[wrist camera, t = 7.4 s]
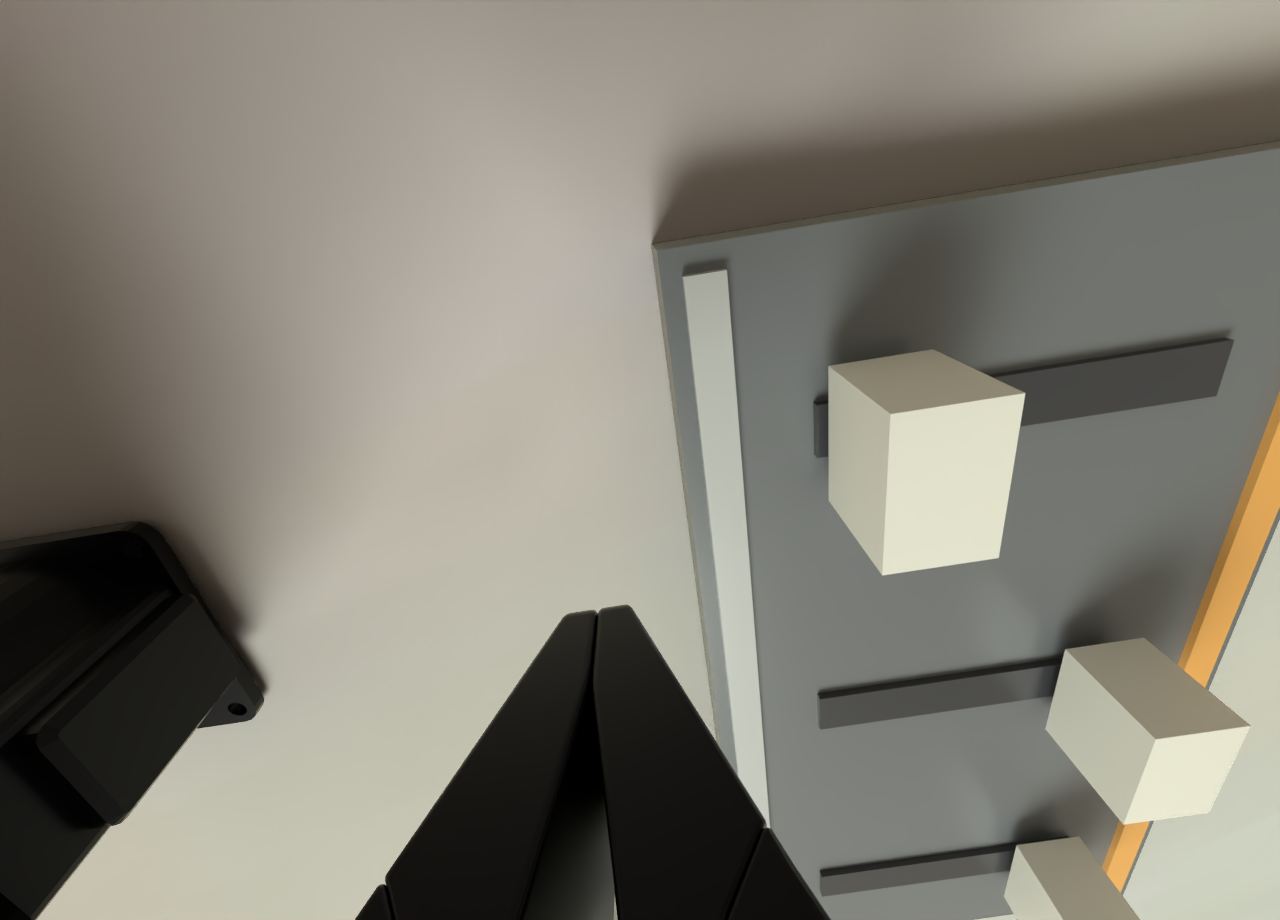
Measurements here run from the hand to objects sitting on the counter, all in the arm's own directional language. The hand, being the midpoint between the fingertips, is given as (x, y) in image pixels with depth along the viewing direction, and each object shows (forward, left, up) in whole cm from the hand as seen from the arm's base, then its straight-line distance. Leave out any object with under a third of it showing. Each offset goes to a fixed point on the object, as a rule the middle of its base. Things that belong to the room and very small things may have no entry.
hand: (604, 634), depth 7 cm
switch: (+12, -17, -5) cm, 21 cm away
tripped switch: (+6, 0, -5) cm, 7 cm away
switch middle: (+12, -9, -5) cm, 15 cm away
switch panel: (+9, -8, -7) cm, 14 cm away
